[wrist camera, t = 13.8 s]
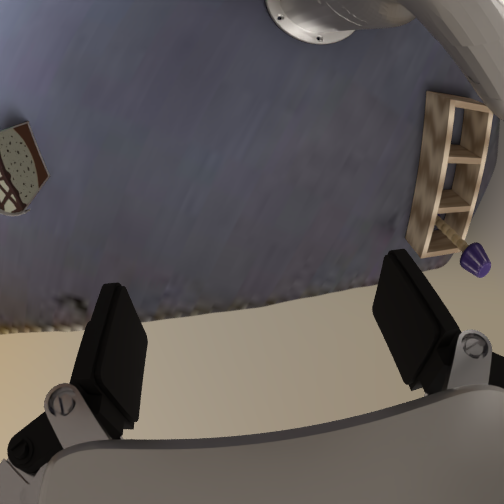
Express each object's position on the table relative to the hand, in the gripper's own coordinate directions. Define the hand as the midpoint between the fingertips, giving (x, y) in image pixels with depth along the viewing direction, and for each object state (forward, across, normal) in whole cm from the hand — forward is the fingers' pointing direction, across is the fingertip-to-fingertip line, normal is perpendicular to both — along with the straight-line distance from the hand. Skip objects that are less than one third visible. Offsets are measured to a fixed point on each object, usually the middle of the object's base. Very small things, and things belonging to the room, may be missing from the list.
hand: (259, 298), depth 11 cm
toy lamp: (+34, -34, +18) cm, 51 cm away
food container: (+34, +31, 0) cm, 46 cm away
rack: (+33, -34, +10) cm, 49 cm away
